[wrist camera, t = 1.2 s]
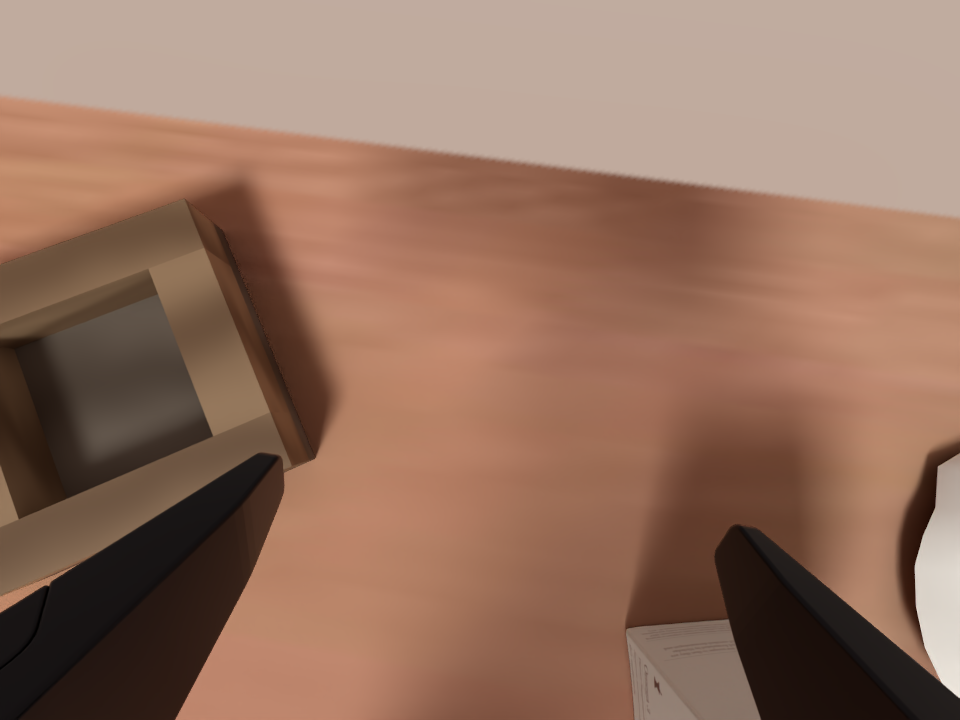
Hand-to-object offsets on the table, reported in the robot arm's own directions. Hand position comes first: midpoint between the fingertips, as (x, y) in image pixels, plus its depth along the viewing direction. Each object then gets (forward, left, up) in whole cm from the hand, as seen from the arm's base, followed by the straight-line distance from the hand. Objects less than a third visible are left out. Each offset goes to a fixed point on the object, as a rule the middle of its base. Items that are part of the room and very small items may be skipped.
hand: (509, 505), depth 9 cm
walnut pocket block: (-2, +17, -15) cm, 22 cm away
